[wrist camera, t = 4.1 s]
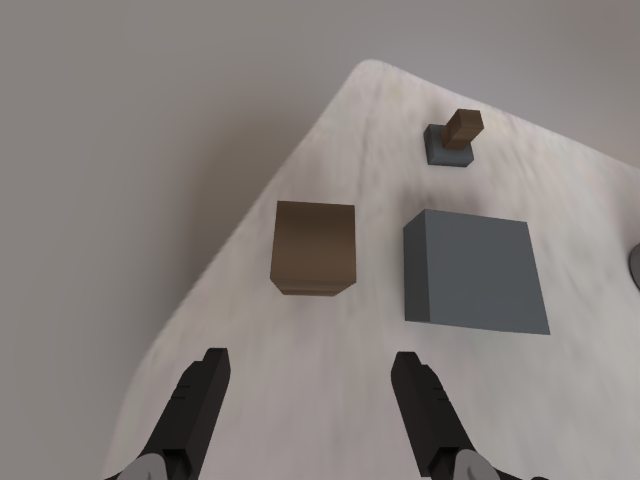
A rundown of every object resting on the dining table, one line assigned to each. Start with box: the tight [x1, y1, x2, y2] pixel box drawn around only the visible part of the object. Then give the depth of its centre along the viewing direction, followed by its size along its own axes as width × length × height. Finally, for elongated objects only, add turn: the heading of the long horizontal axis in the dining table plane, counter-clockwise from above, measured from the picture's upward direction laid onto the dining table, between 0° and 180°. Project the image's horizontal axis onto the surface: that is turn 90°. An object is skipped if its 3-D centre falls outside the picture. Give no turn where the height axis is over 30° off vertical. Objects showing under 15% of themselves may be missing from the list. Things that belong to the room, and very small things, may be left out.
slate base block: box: [403, 209, 550, 335], centre depth 22 cm, size 10×10×5 cm
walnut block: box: [270, 201, 356, 296], centre depth 19 cm, size 5×5×10 cm
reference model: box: [424, 109, 484, 167], centre depth 27 cm, size 5×5×5 cm
